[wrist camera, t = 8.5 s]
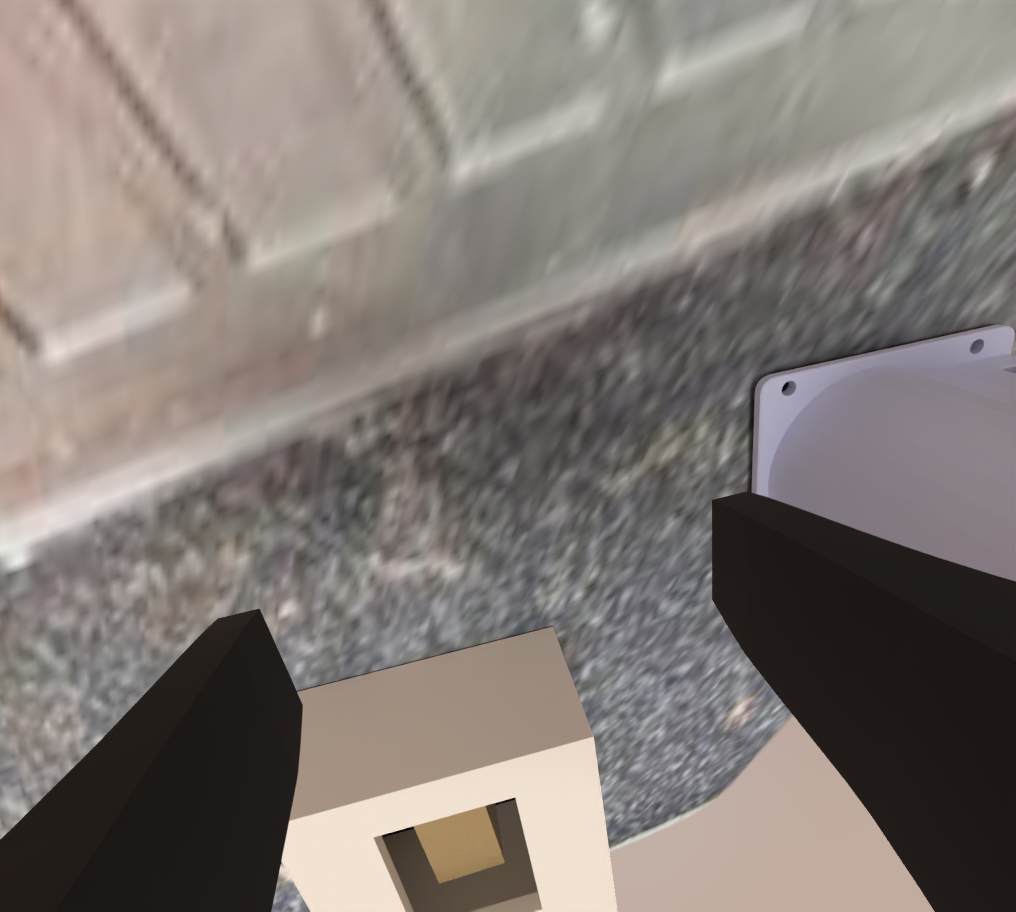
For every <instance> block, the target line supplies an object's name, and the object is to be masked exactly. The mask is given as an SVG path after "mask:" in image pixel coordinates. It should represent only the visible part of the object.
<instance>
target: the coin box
mask: <svg viewBox="0 0 1016 912" xmlns="http://www.w3.org/2000/svg"><path fill="white" fill-rule="evenodd" d="M297 693H298V695H299V698H300V700H301V702H302V704H303V714H302V731H301V746H300V758H299V769H298V777H297V783H296V788H295V793H294V799H293V804H292V809H291V814H290V819H289V825H288V830H287V835H286V840H285V845H284V850H283V855H282V860H281V861H282V862H283V864H284V866H285V868H286V869H287V871H288V873H289V875H290V876H291V878H292V880H293V882H294V883H295V885H296V887H297V889H298V890H299V892H300V894H301V896H302V897H303V899H304V901H305V903H306V904H307V906H308V908H309V910H310V911H311V912H617V904H616V897H615V890H614V882H613V876H612V868H611V860H610V853H609V846H608V838H607V831H606V824H605V816H604V809H603V802H602V795H601V787H600V780H599V773H598V765H597V758H596V751H595V743H594V736H593V734H592V731H591V728H590V726H589V723H588V720H587V717H586V715H585V712H584V709H583V707H582V704H581V701H580V699H579V696H578V693H577V690H576V688H575V685H574V682H573V680H572V677H571V674H570V671H569V669H568V666H567V663H566V661H565V658H564V655H563V653H562V650H561V647H560V644H559V642H558V639H557V636H556V634H555V631H554V628H553V627H549V628H545V629H541V630H537V631H533V632H529V633H525V634H521V635H518V636H514V637H510V638H506V639H502V640H498V641H494V642H490V643H486V644H482V645H478V646H475V647H471V648H467V649H463V650H459V651H455V652H451V653H447V654H443V655H439V656H435V657H432V658H428V659H424V660H420V661H416V662H412V663H408V664H404V665H400V666H396V667H392V668H389V669H385V670H381V671H377V672H373V673H369V674H365V675H361V676H357V677H353V678H349V679H346V680H342V681H338V682H334V683H330V684H326V685H322V686H318V687H314V688H310V689H306V690H302V691H299V692H297ZM514 797H515V798H516V800H513V801H509V802H505V803H502V804H498V805H496V810H497V817H498V823H499V829H500V835H501V841H502V847H503V853H504V860H505V863H503V864H500V865H497V866H494V867H490V868H487V869H484V870H481V871H478V872H475V873H472V874H469V875H465V876H462V877H459V878H456V879H453V880H450V881H447V882H444V883H441V884H439V882H438V880H437V878H436V876H435V873H434V871H433V869H432V867H431V864H430V862H429V860H428V858H427V856H426V853H425V851H424V849H423V847H422V844H421V842H420V840H419V838H418V836H417V833H416V831H415V829H411V830H407V831H404V832H400V833H397V834H393V835H389V836H386V837H382V836H381V835H384V834H388V833H391V832H395V831H398V830H402V829H405V828H409V827H412V826H416V825H419V824H423V823H426V822H430V821H433V820H437V819H441V818H444V817H448V816H451V815H455V814H458V813H462V812H465V811H469V810H472V809H476V808H479V807H483V806H486V805H490V804H493V803H497V802H500V801H504V800H507V799H511V798H514Z"/></svg>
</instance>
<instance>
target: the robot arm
mask: <svg viewBox="0 0 1016 912" xmlns="http://www.w3.org/2000/svg"><path fill="white" fill-rule="evenodd" d="M1014 338H1015V332H1014V330H1013V328H1011V327H1010V326H1006V325H992V326H988V327H983V328H979V329H974V330H969V331H965V332H960V333H956V334H951V335H947V336H942V337H938V338H933V339H929V340H924V341H919V342H915V343H910V344H906V345H901V346H897V347H892V348H888V349H883V350H878V351H874V352H869V353H865V354H860V355H856V356H851V357H847V358H842V359H837V360H833V361H828V362H824V363H819V364H815V365H810V366H806V367H801V368H796V369H792V370H787V371H783V372H778V373H774V374H769V375H767V376H764V377H763V378H762V379H761V380H760V381H759V382H758V384H757V386H756V389H755V405H754V434H753V464H752V493H751V492H748V491H747V492H743V493H739V494H735V495H731V496H727V497H722V498H718V499H714V500H712V600H713V602H714V603H715V605H716V607H717V608H718V610H719V612H720V613H721V615H722V617H723V619H724V620H725V622H726V624H727V625H728V627H729V629H730V630H731V632H732V634H733V635H734V637H735V638H736V640H737V642H738V643H739V645H740V646H741V648H742V650H743V651H744V653H745V654H746V656H747V657H748V658H749V659H750V661H751V662H752V663H753V665H754V666H755V667H756V669H757V670H758V671H759V672H760V674H761V675H762V676H763V677H764V679H765V680H766V681H767V683H768V684H769V685H770V686H771V688H772V689H773V690H774V692H775V693H776V694H777V695H778V697H779V698H780V699H781V700H782V702H783V703H784V704H785V705H786V707H787V708H788V709H789V710H790V712H791V713H792V714H793V715H794V717H795V718H796V719H797V720H798V722H799V723H800V724H801V725H802V727H803V728H804V729H805V730H806V732H807V733H808V734H809V735H810V737H811V738H812V739H813V741H814V742H815V743H816V744H817V746H819V748H820V749H821V751H822V752H823V753H824V754H825V756H826V757H827V758H828V759H829V761H830V762H831V763H832V764H833V766H834V767H835V768H836V769H837V770H838V772H839V773H840V774H841V776H842V777H843V778H844V779H845V781H846V782H847V783H848V785H849V786H850V787H851V789H852V790H853V791H854V793H855V794H856V795H857V797H858V798H859V800H860V801H861V802H862V804H863V805H864V806H865V808H866V809H867V810H868V812H869V813H870V814H871V816H872V817H873V819H874V820H875V822H876V823H877V825H878V826H879V828H880V829H881V831H882V832H883V834H884V835H885V837H886V838H887V840H888V841H889V843H890V844H891V845H892V847H893V849H894V850H895V852H896V853H897V855H898V856H899V858H900V859H901V860H902V862H903V864H904V865H905V867H906V868H907V870H908V871H909V873H910V874H911V876H912V877H913V879H914V880H915V882H916V883H917V885H918V886H919V888H920V889H921V891H922V892H923V894H924V896H925V897H926V899H927V900H928V902H929V903H930V905H931V906H932V908H933V910H934V911H935V912H1016V356H1014V355H1011V351H1012V347H1013V342H1014ZM972 343H973V344H972ZM971 345H972V347H971ZM970 347H971V348H970ZM786 382H789V385H788V388H787V389H786V390H785V391H783V392H782V387H783V385H784V384H785V383H786ZM302 714H303V704H302V702H301V700H300V698H299V695H298V693H297V691H296V689H295V686H294V684H293V682H292V680H291V678H290V675H289V673H288V671H287V669H286V666H285V664H284V662H283V660H282V658H281V655H280V653H279V651H278V649H277V647H276V644H275V642H274V640H273V638H272V635H271V633H270V631H269V629H268V627H267V624H266V622H265V620H264V618H263V615H262V613H261V611H260V609H256V610H252V611H248V612H244V613H239V614H235V615H231V616H227V617H223V618H219V619H217V620H216V621H215V622H214V623H213V624H212V625H211V626H210V627H208V628H207V629H206V630H205V631H204V632H203V633H202V634H201V635H200V636H199V637H198V638H197V639H196V640H195V641H194V642H193V643H192V645H191V646H190V647H189V648H188V649H187V650H186V651H185V652H184V653H183V654H182V655H181V656H180V657H179V658H178V659H177V660H176V661H175V662H174V663H173V665H172V666H171V667H170V668H169V669H168V670H167V671H166V672H165V673H164V674H163V675H162V676H161V677H160V678H159V679H158V681H157V682H156V683H155V684H154V685H153V686H152V687H151V688H150V689H149V690H148V691H147V692H146V693H145V694H144V695H143V696H142V697H141V699H140V700H139V701H138V702H137V703H136V704H135V705H134V706H133V707H132V708H131V709H130V710H129V711H128V712H127V713H126V714H125V715H124V716H123V718H122V719H121V720H120V721H119V722H118V723H117V724H116V725H115V726H114V727H113V728H112V729H111V730H110V731H109V732H108V733H107V734H106V735H105V736H104V738H103V739H102V740H101V741H100V742H99V743H98V744H97V745H96V746H95V747H94V748H93V749H92V750H91V751H90V752H89V753H88V754H87V755H86V756H85V757H84V758H83V759H82V760H81V761H80V762H79V763H78V764H77V765H76V766H75V767H74V768H73V769H72V770H71V771H70V772H69V773H68V774H67V775H66V776H65V777H64V778H63V779H62V780H61V781H60V782H59V783H58V784H57V785H56V786H54V787H53V788H52V789H51V790H50V791H49V792H48V793H47V794H46V795H45V796H44V797H43V798H42V799H41V800H40V801H39V802H38V803H37V804H36V805H35V806H34V807H33V808H32V809H31V810H30V811H29V812H28V813H27V814H26V815H25V816H24V817H23V818H22V819H21V820H20V821H19V822H18V823H17V824H16V825H15V826H14V827H13V828H12V829H11V830H10V831H9V832H8V833H7V834H6V835H5V836H4V837H3V838H1V839H0V912H271V910H272V905H273V900H274V895H275V890H276V885H277V880H278V875H279V870H280V865H281V860H282V855H283V850H284V845H285V840H286V835H287V830H288V825H289V819H290V814H291V809H292V804H293V799H294V793H295V788H296V783H297V777H298V769H299V758H300V746H301V731H302Z"/></svg>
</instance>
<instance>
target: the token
mask: <svg viewBox="0 0 1016 912" xmlns="http://www.w3.org/2000/svg"><path fill="white" fill-rule="evenodd" d="M413 827H414V829H415V831H416V833H417V836H418V838H419V840H420V842H421V844H422V847H423V849H424V851H425V853H426V856H427V858H428V860H429V862H430V864H431V867H432V869H433V871H434V873H435V876H436V878H437V880H438V882H439V884H441V883H444V882H447V881H450V880H453V879H456V878H459V877H462V876H465V875H469V874H472V873H475V872H478V871H481V870H484V869H487V868H490V867H494V866H497V865H500V864H503V863H505V860H504V853H503V847H502V841H501V835H500V829H499V823H498V817H497V810H496V804H495V803H493V804H490V805H486V806H483V807H479V808H476V809H472V810H469V811H465V812H462V813H458V814H455V815H451V816H448V817H444V818H441V819H437V820H433V821H430V822H426V823H423V824H419V825H416V826H413Z"/></svg>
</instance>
